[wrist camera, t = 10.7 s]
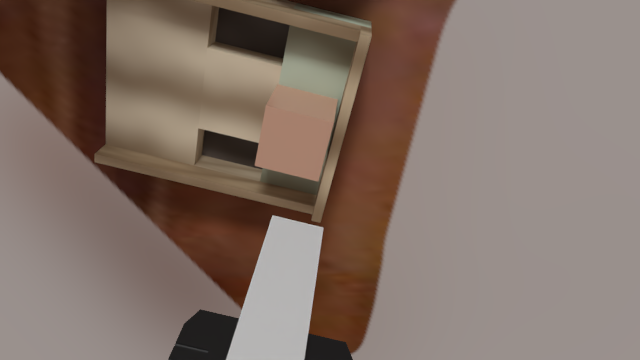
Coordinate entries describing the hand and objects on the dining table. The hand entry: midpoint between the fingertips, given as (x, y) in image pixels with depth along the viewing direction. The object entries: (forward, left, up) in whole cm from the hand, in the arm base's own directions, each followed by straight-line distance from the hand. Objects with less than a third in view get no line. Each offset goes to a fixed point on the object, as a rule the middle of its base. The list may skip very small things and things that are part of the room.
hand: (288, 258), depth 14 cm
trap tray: (+6, -8, -28) cm, 30 cm away
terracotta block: (+6, -2, -26) cm, 27 cm away
